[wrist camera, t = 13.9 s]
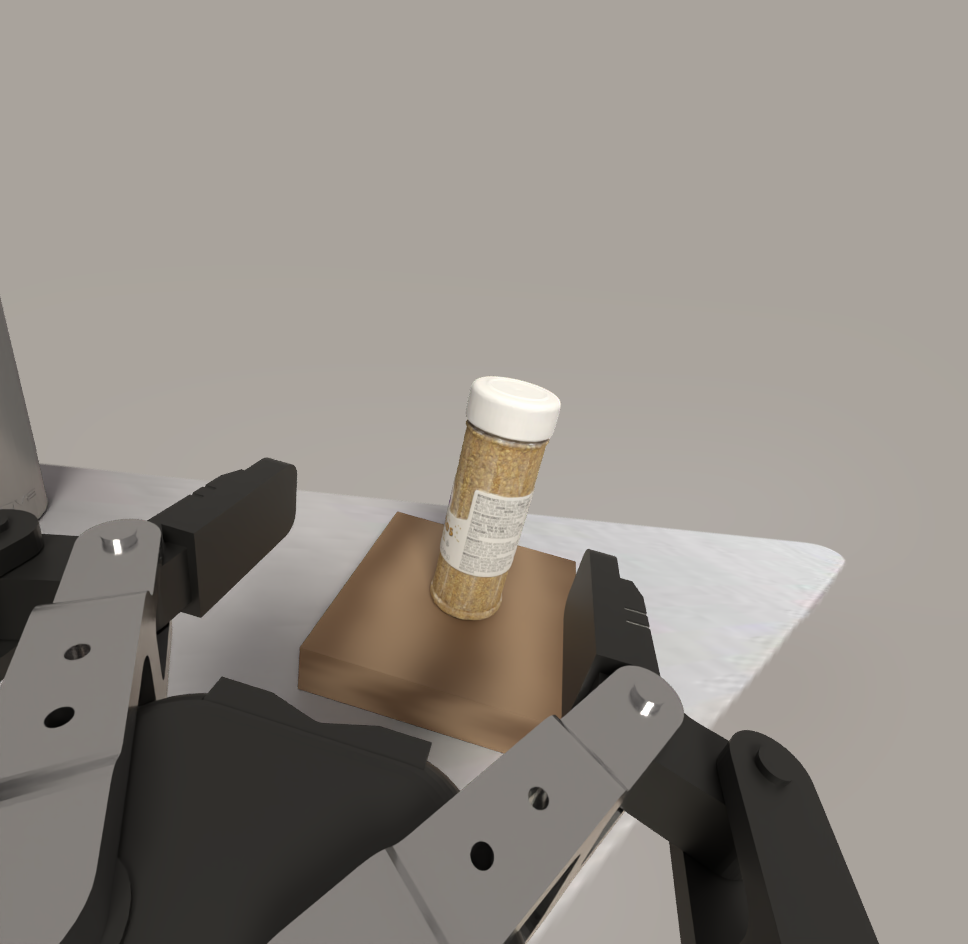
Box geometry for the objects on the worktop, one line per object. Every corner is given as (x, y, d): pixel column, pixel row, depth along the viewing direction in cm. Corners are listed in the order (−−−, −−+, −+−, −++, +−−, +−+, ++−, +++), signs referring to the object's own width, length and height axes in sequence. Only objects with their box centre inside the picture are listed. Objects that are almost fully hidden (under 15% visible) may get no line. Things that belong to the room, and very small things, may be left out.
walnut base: (297, 688, 24) (299, 647, 23) (392, 543, 36) (397, 511, 35) (560, 770, 23) (578, 732, 22) (564, 592, 35) (575, 561, 34)
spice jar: (431, 568, 30) (472, 367, 24) (499, 579, 30) (555, 384, 25) (425, 619, 26) (472, 391, 20) (504, 630, 26) (571, 411, 21)
